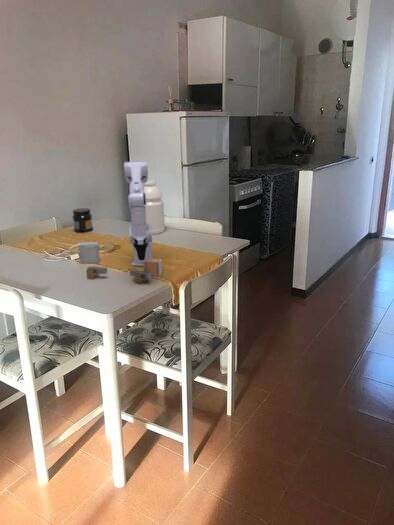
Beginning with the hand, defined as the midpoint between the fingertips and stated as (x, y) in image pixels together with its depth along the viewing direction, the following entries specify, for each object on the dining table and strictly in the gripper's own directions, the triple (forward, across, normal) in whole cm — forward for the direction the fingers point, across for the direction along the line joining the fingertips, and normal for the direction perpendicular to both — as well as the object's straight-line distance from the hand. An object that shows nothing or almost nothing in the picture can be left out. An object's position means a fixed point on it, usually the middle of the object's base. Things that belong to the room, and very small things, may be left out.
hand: (141, 256), depth 169 cm
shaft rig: (+9, 0, -9) cm, 13 cm away
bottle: (+10, -69, +8) cm, 70 cm away
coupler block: (+9, -3, +4) cm, 11 cm away
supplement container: (+10, -81, -31) cm, 87 cm away
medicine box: (+10, -25, -23) cm, 35 cm away
